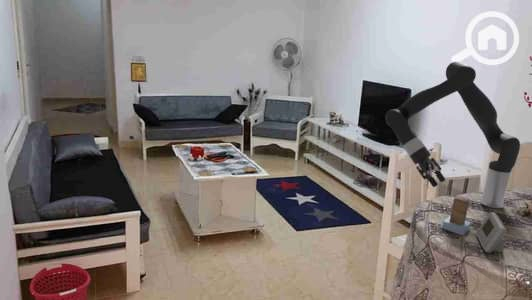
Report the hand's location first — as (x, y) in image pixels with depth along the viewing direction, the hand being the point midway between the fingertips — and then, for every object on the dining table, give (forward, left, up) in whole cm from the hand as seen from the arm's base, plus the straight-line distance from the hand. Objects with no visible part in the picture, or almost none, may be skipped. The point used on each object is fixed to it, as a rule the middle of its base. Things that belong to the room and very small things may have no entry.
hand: (439, 183), depth 176 cm
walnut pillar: (+3, +10, -12) cm, 16 cm away
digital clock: (+8, +23, -16) cm, 29 cm away
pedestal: (+3, +10, -15) cm, 19 cm away
